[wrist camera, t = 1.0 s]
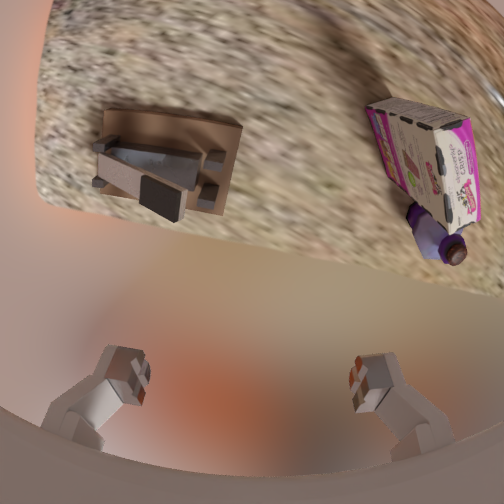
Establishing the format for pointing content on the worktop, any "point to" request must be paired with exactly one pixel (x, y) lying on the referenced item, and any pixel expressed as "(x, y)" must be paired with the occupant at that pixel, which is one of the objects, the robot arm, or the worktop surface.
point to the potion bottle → (435, 237)
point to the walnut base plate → (177, 145)
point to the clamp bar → (144, 186)
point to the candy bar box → (430, 158)
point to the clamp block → (166, 165)
